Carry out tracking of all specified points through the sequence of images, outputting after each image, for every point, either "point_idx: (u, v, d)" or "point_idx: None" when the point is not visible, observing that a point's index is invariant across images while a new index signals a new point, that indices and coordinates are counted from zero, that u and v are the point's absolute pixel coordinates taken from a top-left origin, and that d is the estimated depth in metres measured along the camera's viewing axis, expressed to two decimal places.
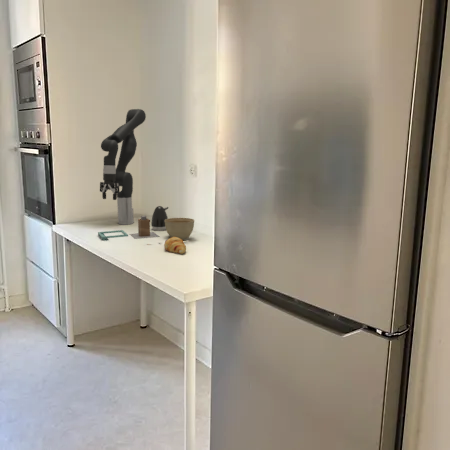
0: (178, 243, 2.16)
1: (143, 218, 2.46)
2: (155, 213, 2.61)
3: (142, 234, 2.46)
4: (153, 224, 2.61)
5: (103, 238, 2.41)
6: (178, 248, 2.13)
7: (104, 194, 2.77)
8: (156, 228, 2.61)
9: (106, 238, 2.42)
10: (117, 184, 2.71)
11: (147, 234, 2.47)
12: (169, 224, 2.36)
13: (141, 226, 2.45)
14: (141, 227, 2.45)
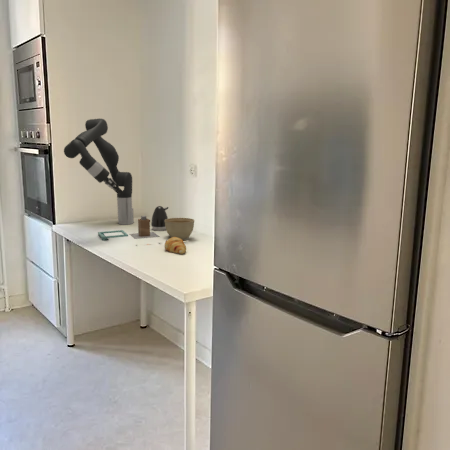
0: (178, 243, 2.16)
1: (143, 218, 2.46)
2: (155, 213, 2.61)
3: (142, 234, 2.46)
4: (153, 224, 2.61)
5: (103, 238, 2.41)
6: (178, 248, 2.13)
7: (115, 189, 2.42)
8: (156, 228, 2.61)
9: (106, 238, 2.42)
10: (109, 181, 2.30)
11: (147, 234, 2.47)
12: (169, 224, 2.36)
13: (141, 226, 2.45)
14: (141, 227, 2.45)
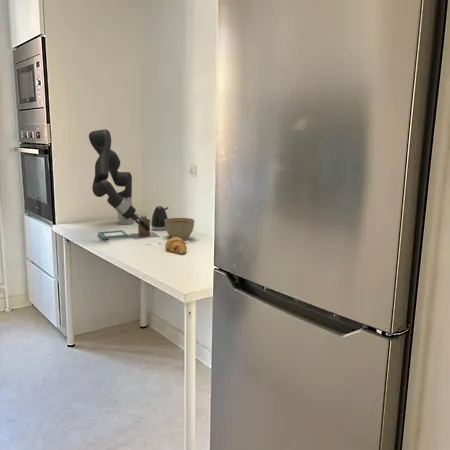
0: (178, 243, 2.16)
1: (143, 218, 2.46)
2: (155, 213, 2.61)
3: (142, 234, 2.46)
4: (153, 224, 2.61)
5: (103, 238, 2.41)
6: (178, 248, 2.13)
7: None
8: (156, 228, 2.61)
9: (106, 238, 2.42)
10: (138, 220, 2.39)
11: (147, 234, 2.47)
12: (169, 224, 2.36)
13: None
14: (141, 227, 2.45)
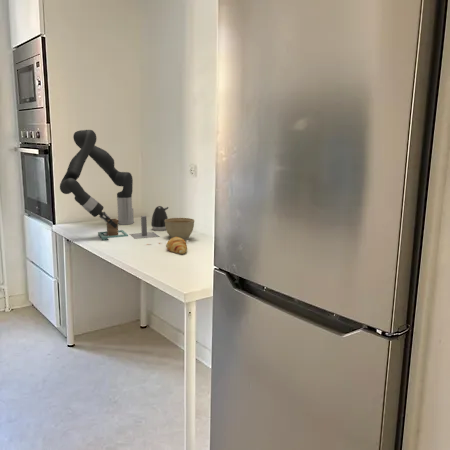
0: (179, 243, 2.16)
1: (143, 218, 2.46)
2: (155, 213, 2.61)
3: (110, 234, 2.47)
4: (153, 224, 2.61)
5: (103, 238, 2.41)
6: (178, 248, 2.13)
7: None
8: (156, 228, 2.61)
9: (106, 238, 2.42)
10: (103, 216, 2.40)
11: None
12: (169, 224, 2.36)
13: (109, 226, 2.46)
14: (109, 227, 2.46)
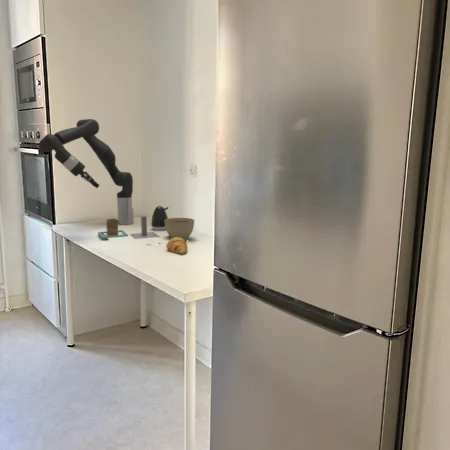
0: (179, 243, 2.15)
1: (143, 218, 2.46)
2: (155, 213, 2.61)
3: (110, 234, 2.47)
4: (153, 224, 2.61)
5: (103, 238, 2.41)
6: (178, 248, 2.13)
7: None
8: (156, 228, 2.61)
9: (106, 238, 2.42)
10: (84, 175, 2.33)
11: None
12: (169, 224, 2.36)
13: (109, 226, 2.46)
14: (109, 227, 2.46)
